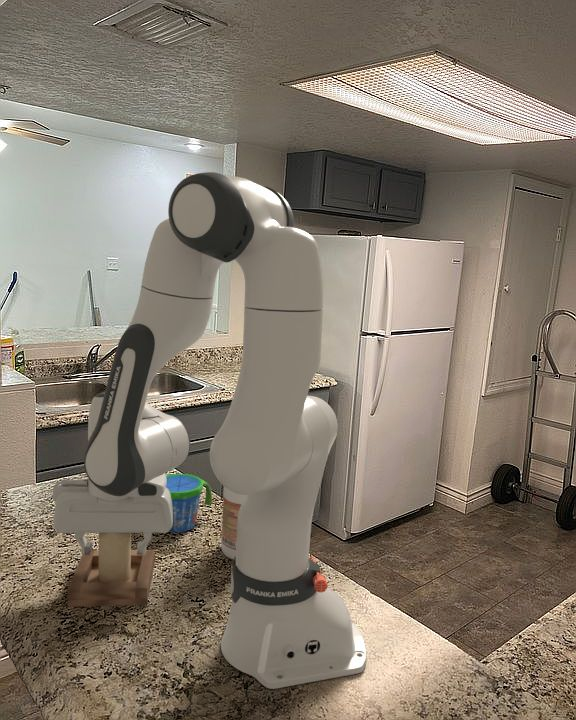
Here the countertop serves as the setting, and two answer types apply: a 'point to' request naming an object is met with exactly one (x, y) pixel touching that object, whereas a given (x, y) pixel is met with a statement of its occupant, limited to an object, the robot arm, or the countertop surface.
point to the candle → (114, 557)
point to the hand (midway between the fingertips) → (114, 553)
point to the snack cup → (186, 499)
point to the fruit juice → (230, 521)
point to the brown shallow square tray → (111, 583)
